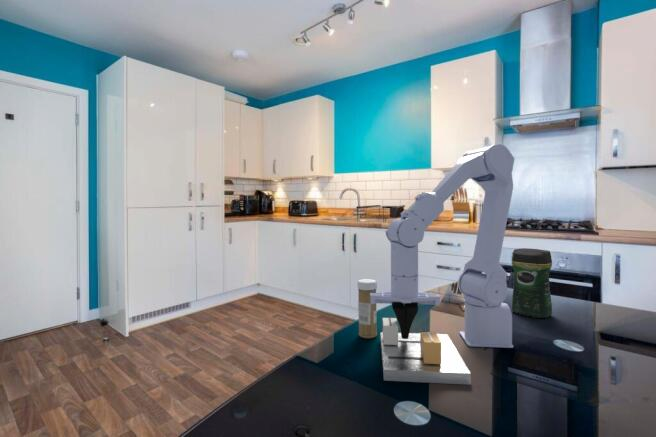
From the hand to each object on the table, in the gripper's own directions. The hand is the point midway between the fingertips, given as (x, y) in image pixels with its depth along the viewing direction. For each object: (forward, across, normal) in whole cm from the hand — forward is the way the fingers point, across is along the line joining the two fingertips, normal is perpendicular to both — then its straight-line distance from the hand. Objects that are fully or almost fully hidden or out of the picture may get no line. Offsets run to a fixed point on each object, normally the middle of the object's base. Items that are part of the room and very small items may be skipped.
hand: (404, 337), depth 74 cm
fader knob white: (+1, -3, 0) cm, 3 cm away
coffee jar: (+3, +38, +28) cm, 47 cm away
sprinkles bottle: (+3, -8, +8) cm, 12 cm away
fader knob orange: (+1, +4, -8) cm, 9 cm away
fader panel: (+3, +2, -4) cm, 6 cm away
